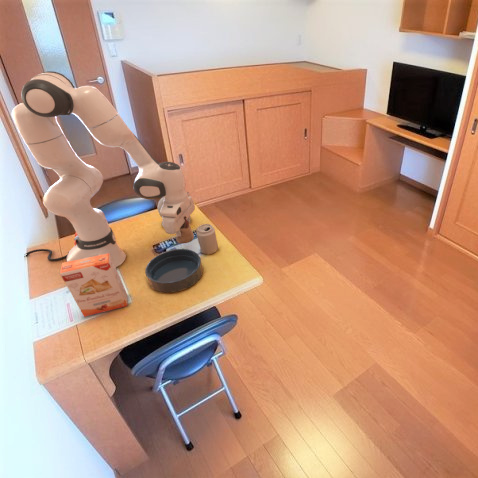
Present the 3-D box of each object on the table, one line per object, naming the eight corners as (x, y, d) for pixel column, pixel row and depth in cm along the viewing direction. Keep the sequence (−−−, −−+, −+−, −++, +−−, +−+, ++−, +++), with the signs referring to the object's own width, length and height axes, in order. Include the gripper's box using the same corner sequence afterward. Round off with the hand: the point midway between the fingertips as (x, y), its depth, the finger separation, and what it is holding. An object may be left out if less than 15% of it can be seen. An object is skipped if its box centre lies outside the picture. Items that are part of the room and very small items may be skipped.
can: (213, 256, 150) (209, 233, 143) (197, 254, 151) (192, 231, 144) (221, 246, 156) (217, 223, 149) (205, 244, 157) (200, 221, 150)
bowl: (148, 299, 130) (144, 288, 126) (150, 264, 145) (146, 254, 142) (205, 286, 135) (202, 276, 132) (201, 255, 151) (198, 244, 147)
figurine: (184, 232, 155) (179, 209, 148) (197, 237, 153) (193, 213, 145) (173, 240, 149) (167, 217, 142) (186, 245, 147) (180, 221, 140)
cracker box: (84, 318, 122) (58, 273, 109) (85, 306, 126) (61, 261, 114) (128, 306, 126) (108, 262, 114) (128, 295, 131) (109, 251, 118)
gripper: (181, 188, 149) (187, 216, 157) (157, 214, 132) (165, 243, 140) (195, 190, 148) (200, 217, 156) (173, 215, 132) (180, 245, 140)
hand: (183, 230), depth 148 cm, fingers closed on figurine, 6 cm apart
